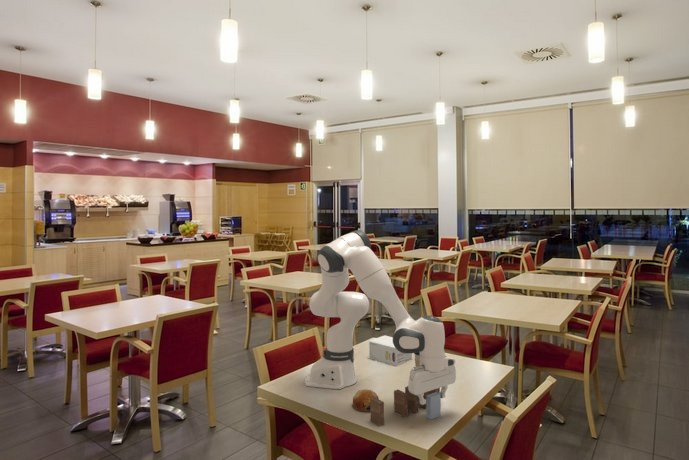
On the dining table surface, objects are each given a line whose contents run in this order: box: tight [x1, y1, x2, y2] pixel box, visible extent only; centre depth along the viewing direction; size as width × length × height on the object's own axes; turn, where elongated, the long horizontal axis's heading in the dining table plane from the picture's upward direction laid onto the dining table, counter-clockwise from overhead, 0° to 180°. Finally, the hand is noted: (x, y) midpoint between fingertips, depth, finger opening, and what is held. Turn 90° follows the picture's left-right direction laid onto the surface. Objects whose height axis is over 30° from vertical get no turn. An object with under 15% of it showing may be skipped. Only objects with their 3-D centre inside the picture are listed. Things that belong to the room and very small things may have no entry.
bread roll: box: [352, 388, 380, 413], centre depth 169 cm, size 10×10×8 cm
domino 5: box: [429, 387, 441, 394], centre depth 172 cm, size 2×5×8 cm, turn 35°
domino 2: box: [393, 389, 409, 418], centre depth 162 cm, size 2×5×8 cm, turn 35°
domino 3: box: [404, 386, 420, 414], centre depth 165 cm, size 2×5×8 cm, turn 35°
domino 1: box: [369, 397, 385, 427], centre depth 156 cm, size 2×5×8 cm, turn 35°
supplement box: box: [368, 335, 413, 367], centre depth 221 cm, size 17×13×9 cm
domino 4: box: [419, 391, 429, 410], centre depth 168 cm, size 2×5×8 cm, turn 35°
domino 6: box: [426, 392, 442, 420], centre depth 160 cm, size 2×5×8 cm, turn 125°
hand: (432, 400), depth 159 cm, fingers open, 8 cm apart
